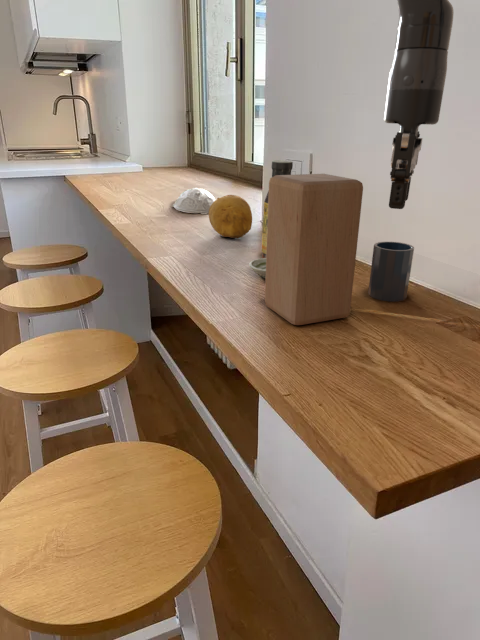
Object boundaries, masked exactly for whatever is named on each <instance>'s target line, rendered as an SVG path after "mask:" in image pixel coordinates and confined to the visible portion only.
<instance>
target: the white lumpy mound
mask: <svg viewBox="0 0 480 640" xmlns="http://www.w3.org/2000/svg"><path fill="white" fill-rule="evenodd" d="M215 200H217V198H215V196H213V194H212V193H211V192H209V190H207V189H204V188H198V187H193V188H189V189H185V190H184V191H183V192H182V193H180V195H178V197H177V198H176V200H175V202H174V203H173V204H172V207H174V209H175V210H176V211H179V212H183V213H189V214H190V213H191V214H201V215H207V214H209V209H210V206H211V205H212V203H213V202H214V201H215Z"/></svg>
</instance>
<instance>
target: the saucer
mask: <svg viewBox="0 0 480 640" xmlns="http://www.w3.org/2000/svg"><path fill="white" fill-rule="evenodd" d="M248 266H249V268H250V270H252V271H253V272H254V273H255V274H257V275H259V276H261V278H263V279H266V258H262V257H261V258H256V259H253V260H251V261H250V262H249V263H248Z"/></svg>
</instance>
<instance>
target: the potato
mask: <svg viewBox="0 0 480 640" xmlns="http://www.w3.org/2000/svg"><path fill="white" fill-rule="evenodd" d="M208 220H209V223H210V225H211V227H212V228H213V230H214V231H215V232H216V233H218V235H220V237H221V236H222V237H224V238H231V239H237V240H238V239H240V238H242V237H244V236H246V234H248V233H249V232H250V231H251V230H252V226H253V213H252V208H251V206H250V204H249V203H248V202H247V200H245V199H244V198H243V197H241V196H239V195H236V194H227V195H223V196H221V197H217V198H216V200H215V201H214V202H213V203H212V205H211V206H210V209H209V213H208Z"/></svg>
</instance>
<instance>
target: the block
mask: <svg viewBox="0 0 480 640" xmlns="http://www.w3.org/2000/svg"><path fill="white" fill-rule="evenodd" d="M268 190H269V196H268V224H267V253H266V278H265V281H264V283H265V285H264V286H265V287H264V303H265V306H266V307H267V308H268V309H270V310H272V311H273V312H275V313H276V314H277V315H278V316H279V317H282V318H283V319H284V320H286V321H287V322H288V323H290V324H291V325H295V326H302V325H308V324H314V323H321V322H326V321H327V322H328V321H332V320H338V319H342V318H343V319H344V318H347V317H349V315H350V313H351V309H352V297H353V288H354V279H355V270H356V269H355V268H356V260H357V252H358V251H357V250H358V241H359V231H360V221H361V213H362V203H363V194H364V185H363V182H361V180H358V179H356V178H349V177H344V176H339V175H334V174H328V173H304V174H303V173H302V174H301V173H300V174H299V173H298V174H291V175H276V176H274V177H272V176H271V177H270V178H269V181H268Z"/></svg>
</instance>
